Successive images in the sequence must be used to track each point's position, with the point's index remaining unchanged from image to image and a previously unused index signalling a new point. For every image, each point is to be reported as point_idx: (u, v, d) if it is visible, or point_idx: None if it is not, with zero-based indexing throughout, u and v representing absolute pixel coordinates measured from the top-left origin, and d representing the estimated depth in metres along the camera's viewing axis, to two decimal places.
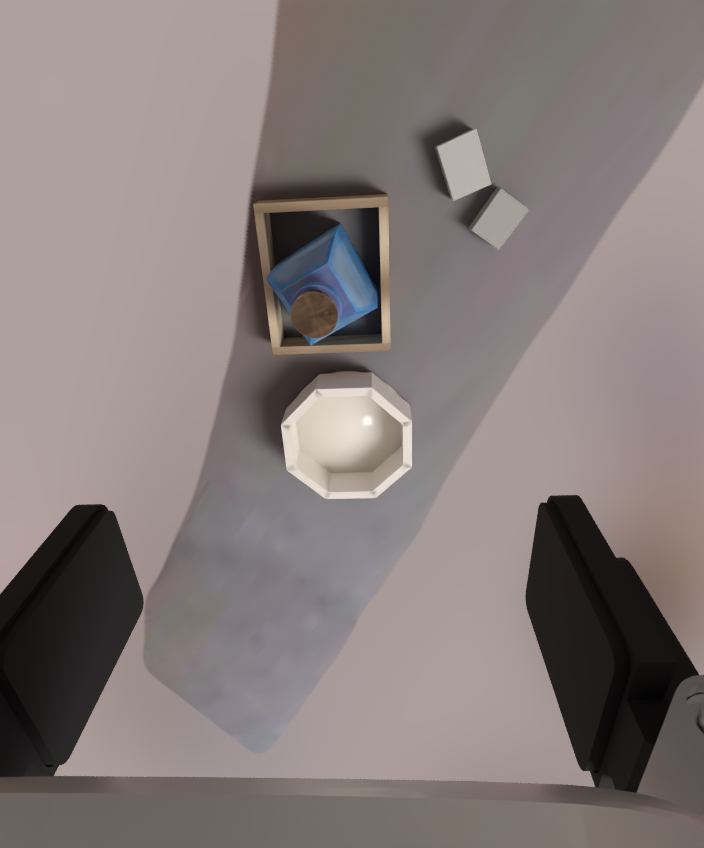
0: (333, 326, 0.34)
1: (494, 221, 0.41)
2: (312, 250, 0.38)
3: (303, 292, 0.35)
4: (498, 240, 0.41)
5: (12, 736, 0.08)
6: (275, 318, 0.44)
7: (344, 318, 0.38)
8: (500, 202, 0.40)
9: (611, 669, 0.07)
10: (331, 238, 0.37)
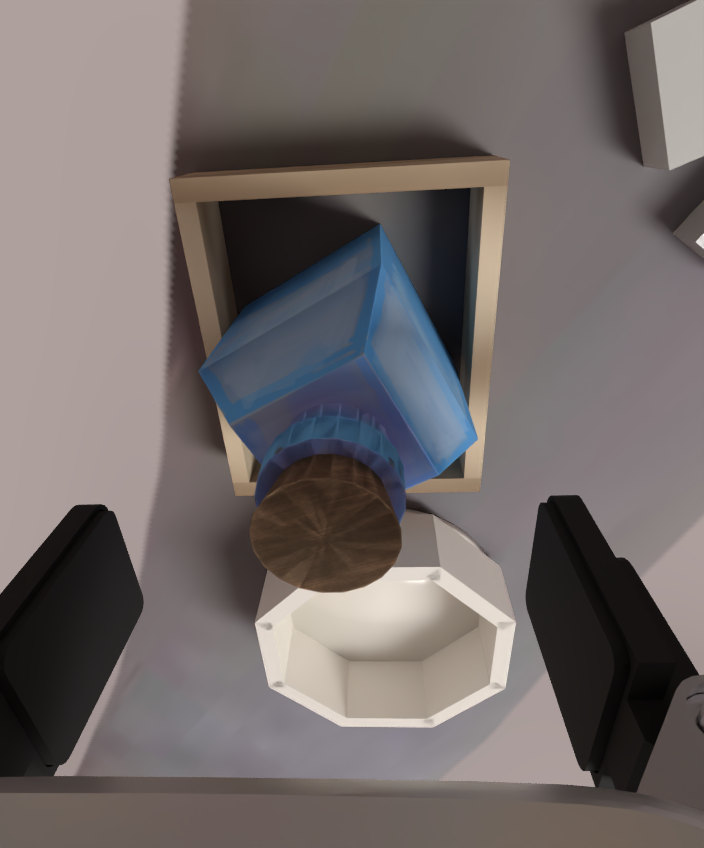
0: (385, 567, 0.11)
1: None
2: (317, 305, 0.14)
3: (291, 457, 0.11)
4: None
5: (12, 736, 0.08)
6: None
7: None
8: None
9: (611, 669, 0.07)
10: (370, 274, 0.13)
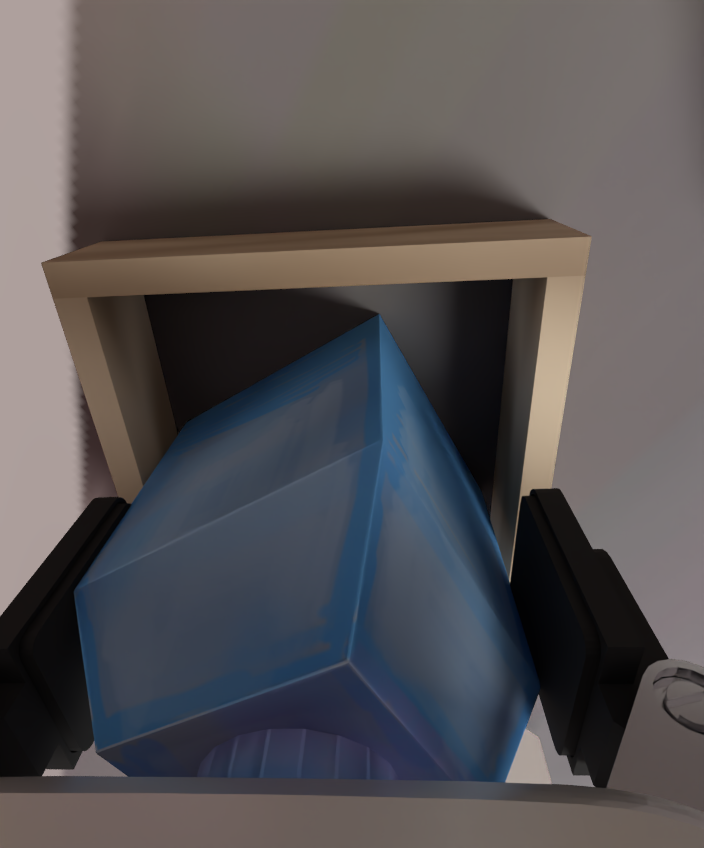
0: None
1: None
2: (268, 505, 0.08)
3: None
4: None
5: (40, 721, 0.08)
6: None
7: None
8: None
9: (583, 654, 0.08)
10: (362, 459, 0.07)
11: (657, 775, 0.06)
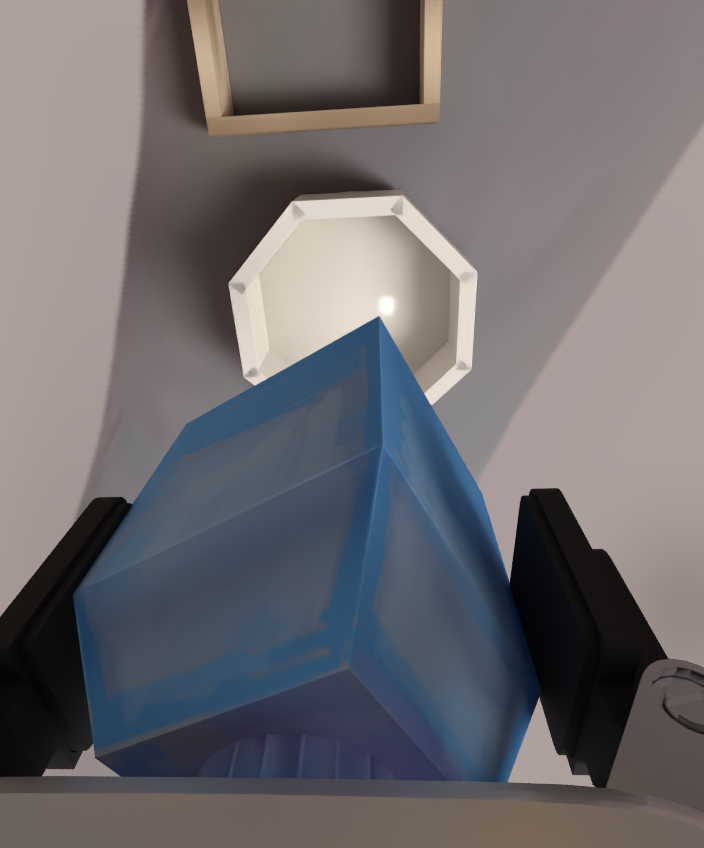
0: None
1: None
2: (268, 509, 0.08)
3: None
4: None
5: (40, 721, 0.08)
6: (209, 46, 0.22)
7: None
8: None
9: (583, 654, 0.08)
10: (362, 463, 0.07)
11: (656, 775, 0.06)
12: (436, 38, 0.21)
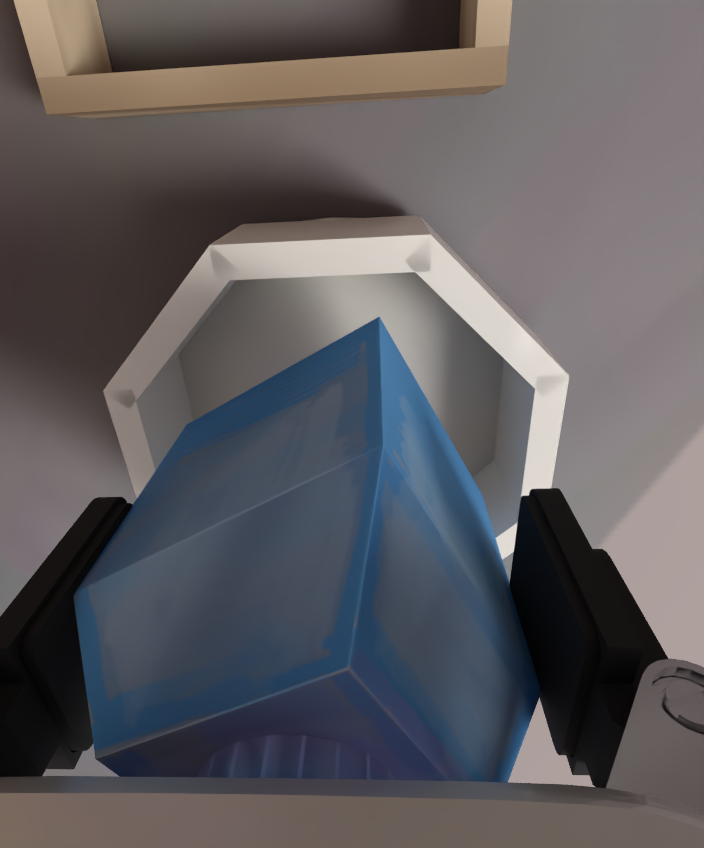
0: None
1: None
2: (268, 510, 0.08)
3: None
4: None
5: (40, 721, 0.08)
6: None
7: None
8: None
9: (583, 654, 0.08)
10: (362, 464, 0.07)
11: (656, 775, 0.06)
12: None
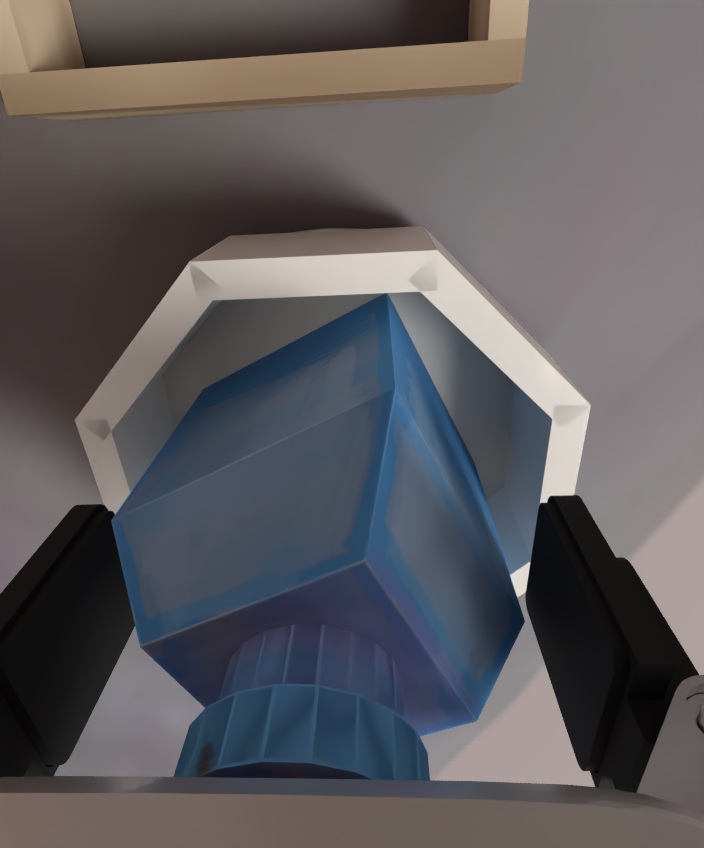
0: None
1: None
2: (293, 443, 0.09)
3: None
4: None
5: (12, 736, 0.08)
6: None
7: (419, 732, 0.09)
8: None
9: (611, 669, 0.07)
10: (377, 402, 0.08)
11: (696, 799, 0.06)
12: None
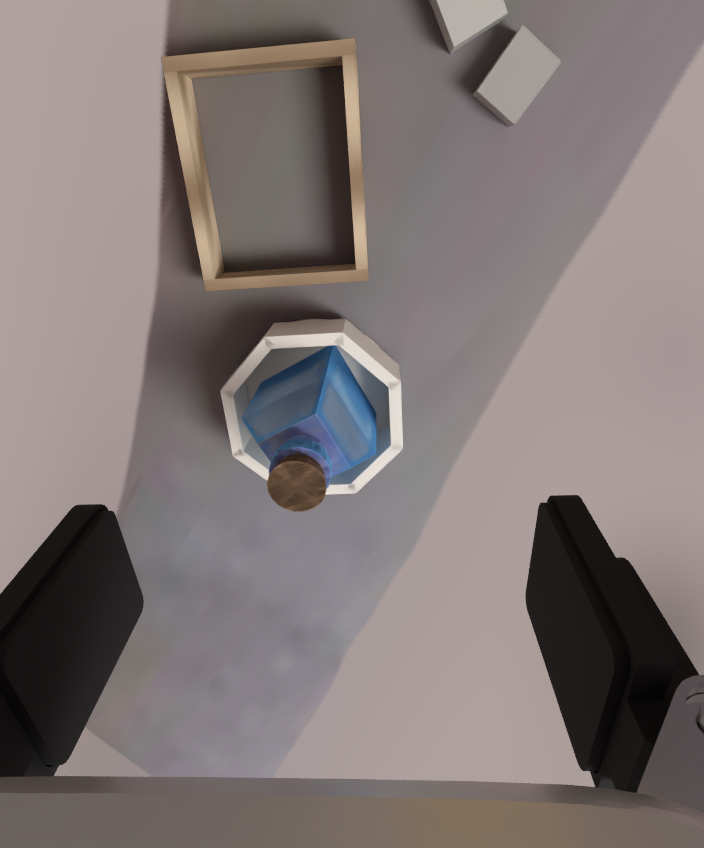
0: (320, 499, 0.27)
1: (510, 78, 0.28)
2: (298, 390, 0.31)
3: (284, 455, 0.28)
4: (514, 109, 0.29)
5: (12, 736, 0.08)
6: (205, 236, 0.31)
7: (335, 474, 0.31)
8: (520, 47, 0.28)
9: (611, 669, 0.07)
10: (321, 378, 0.30)
11: (696, 799, 0.06)
12: (361, 230, 0.31)
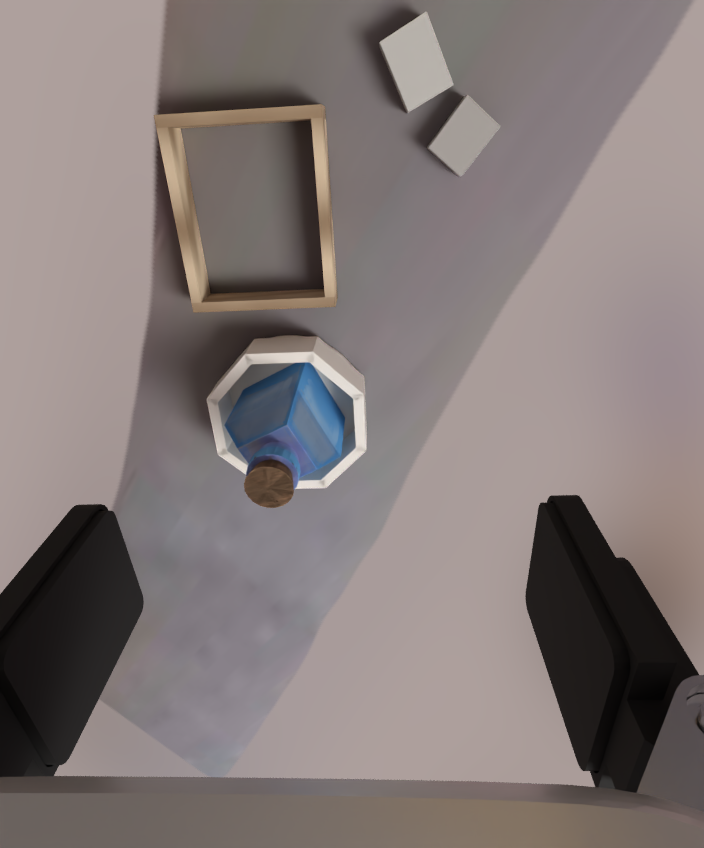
0: (289, 498, 0.33)
1: (457, 139, 0.33)
2: (272, 403, 0.36)
3: (258, 460, 0.33)
4: (461, 164, 0.33)
5: (12, 736, 0.08)
6: (193, 266, 0.36)
7: (304, 474, 0.36)
8: (465, 113, 0.32)
9: (611, 669, 0.07)
10: (292, 392, 0.35)
11: (696, 799, 0.06)
12: (329, 264, 0.36)
